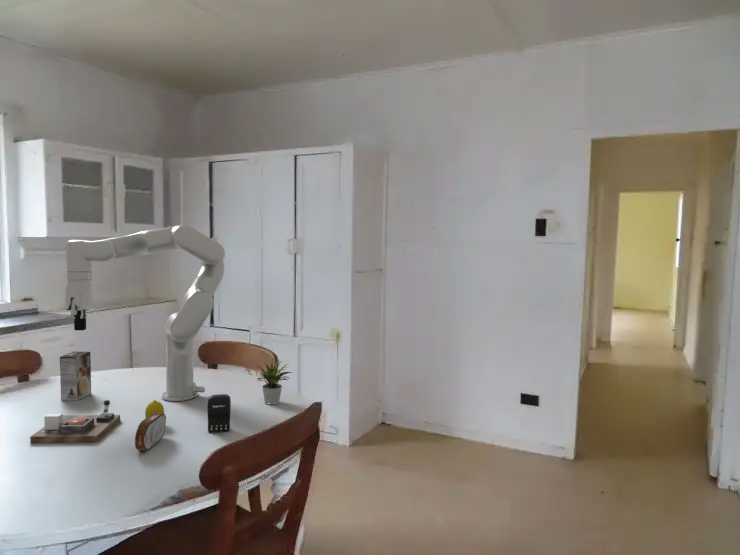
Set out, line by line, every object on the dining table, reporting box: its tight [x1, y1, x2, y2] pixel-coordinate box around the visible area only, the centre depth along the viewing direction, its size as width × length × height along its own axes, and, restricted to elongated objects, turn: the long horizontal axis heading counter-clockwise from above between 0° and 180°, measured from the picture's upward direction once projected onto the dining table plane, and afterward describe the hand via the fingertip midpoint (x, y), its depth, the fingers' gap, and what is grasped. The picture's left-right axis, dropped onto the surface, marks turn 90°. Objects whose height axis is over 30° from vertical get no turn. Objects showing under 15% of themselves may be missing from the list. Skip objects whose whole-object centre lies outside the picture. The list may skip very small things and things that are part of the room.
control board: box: [29, 412, 121, 444], centre depth 158 cm, size 18×18×4 cm
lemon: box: [144, 400, 165, 419], centre depth 165 cm, size 6×6×8 cm
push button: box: [68, 418, 86, 425], centre depth 156 cm, size 5×5×2 cm
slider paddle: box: [43, 413, 64, 430], centre depth 155 cm, size 4×2×4 cm, turn 95°
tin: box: [134, 412, 167, 452], centre depth 150 cm, size 15×3×8 cm, turn 178°
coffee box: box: [59, 351, 92, 402], centre depth 191 cm, size 9×6×16 cm
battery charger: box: [206, 393, 232, 433], centre depth 161 cm, size 7×4×11 cm, turn 103°
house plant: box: [256, 358, 293, 404], centre depth 189 cm, size 14×14×16 cm
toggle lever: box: [103, 399, 111, 413], centre depth 165 cm, size 2×2×4 cm
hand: (80, 329), depth 179 cm, fingers closed
